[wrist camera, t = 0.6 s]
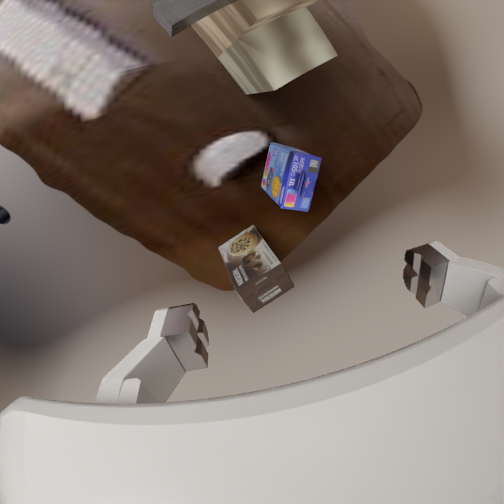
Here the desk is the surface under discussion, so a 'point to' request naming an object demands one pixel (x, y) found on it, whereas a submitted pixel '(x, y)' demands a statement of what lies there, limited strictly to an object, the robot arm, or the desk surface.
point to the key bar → (184, 12)
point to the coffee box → (254, 269)
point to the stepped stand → (265, 41)
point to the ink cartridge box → (290, 176)
